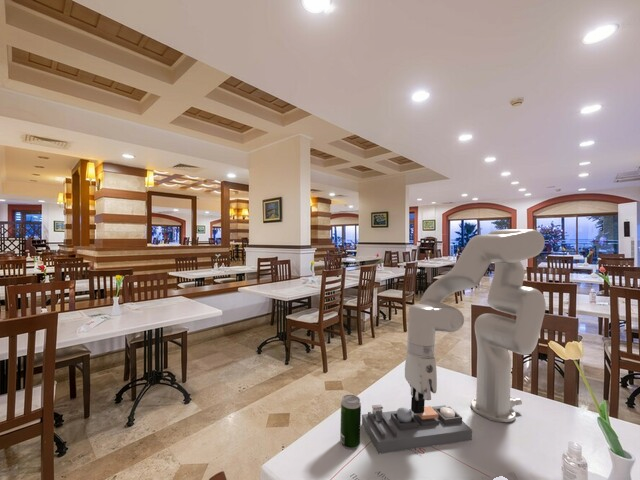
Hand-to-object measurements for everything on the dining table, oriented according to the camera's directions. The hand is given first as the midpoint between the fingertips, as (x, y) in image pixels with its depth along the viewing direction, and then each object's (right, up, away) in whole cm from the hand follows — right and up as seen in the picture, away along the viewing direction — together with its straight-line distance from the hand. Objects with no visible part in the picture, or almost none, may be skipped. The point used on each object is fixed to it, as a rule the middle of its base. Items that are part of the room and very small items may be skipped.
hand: (417, 411), depth 84 cm
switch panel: (-1, -6, 0) cm, 6 cm away
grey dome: (-4, -2, -1) cm, 4 cm away
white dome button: (+10, -3, +2) cm, 10 cm away
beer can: (-20, -6, -5) cm, 22 cm away
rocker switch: (+3, -1, +1) cm, 3 cm away
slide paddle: (-12, -3, +1) cm, 12 cm away
